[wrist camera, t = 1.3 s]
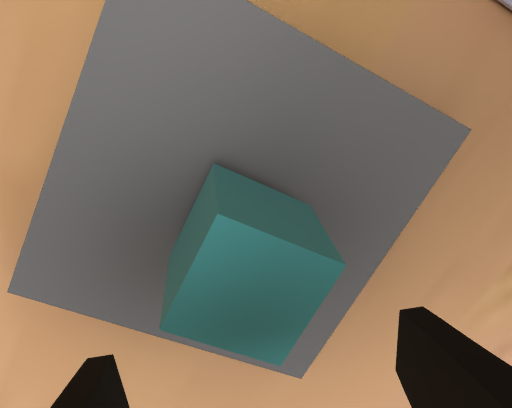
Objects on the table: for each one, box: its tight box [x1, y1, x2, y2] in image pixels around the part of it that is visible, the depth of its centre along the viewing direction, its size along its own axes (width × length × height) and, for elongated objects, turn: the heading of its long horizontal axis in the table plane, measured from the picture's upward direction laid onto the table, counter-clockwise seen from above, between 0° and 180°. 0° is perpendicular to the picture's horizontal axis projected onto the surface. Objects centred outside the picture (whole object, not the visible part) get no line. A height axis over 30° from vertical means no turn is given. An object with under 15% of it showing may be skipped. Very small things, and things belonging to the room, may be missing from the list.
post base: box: [7, 0, 471, 379], centre depth 16 cm, size 16×16×7 cm
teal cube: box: [159, 163, 346, 366], centre depth 15 cm, size 4×4×5 cm
